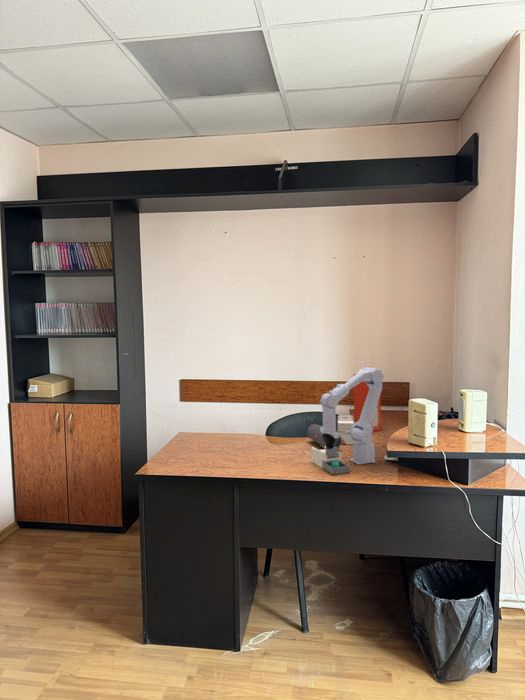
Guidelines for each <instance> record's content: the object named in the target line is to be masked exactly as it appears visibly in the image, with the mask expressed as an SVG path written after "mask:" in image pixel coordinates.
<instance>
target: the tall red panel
mask: <svg viewBox="0 0 525 700" xmlns="http://www.w3.org/2000/svg"><path fill="white" fill-rule="evenodd" d="M356 374H357V373H353V376H355V375H356ZM368 391H369V387H368V385H367V384H366V383H365V382H364V381H363V382H361V383H359V384H358V385H356V386H355V387H353V407H354V408H353V411H354V412H353V414H354V415H353V421H354V423H356V422H357V421H359V419H360V415H361V412H362V409H363V406H364V403H365V400H366V397H367V394H368ZM381 397H382V393H381V394H380V397H379V400H378V403H377V406H376V409H375V412H374V415H373V418H372V421H371V424H370V425H371V427H372V429H373V431H372V433H374V432H381V431H382V405H381V402H382V401H381V400H382V398H381ZM362 429H363V428H362Z"/></svg>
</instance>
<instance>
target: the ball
mask: <svg viewBox="0 0 525 700" xmlns="http://www.w3.org/2000/svg"><path fill="white" fill-rule="evenodd" d="M331 466H332V468H337V467H339V466H340V465H339V463H338V462H337V461H333V462H332V464H331Z"/></svg>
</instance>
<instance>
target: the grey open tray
mask: <svg viewBox="0 0 525 700" xmlns="http://www.w3.org/2000/svg"><path fill="white" fill-rule="evenodd" d="M337 462H338V463H339V465H340V466H339V467H337V468H332V466H331V464H332V462H329V463H324V468H323V471H326V472H327V473H328V474H330V475H331V476H338V475H346V474H350V472H351V471H350V467H351V465H349V464H346V462H343V461H341V460H338V461H337Z"/></svg>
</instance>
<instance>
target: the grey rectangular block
mask: <svg viewBox="0 0 525 700" xmlns="http://www.w3.org/2000/svg"><path fill="white" fill-rule="evenodd" d="M324 449H325V451H326V455H327V458H332V457H338V452H339V448H337V447H330V448H324Z"/></svg>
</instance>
